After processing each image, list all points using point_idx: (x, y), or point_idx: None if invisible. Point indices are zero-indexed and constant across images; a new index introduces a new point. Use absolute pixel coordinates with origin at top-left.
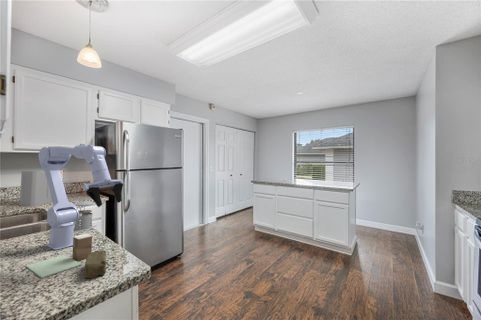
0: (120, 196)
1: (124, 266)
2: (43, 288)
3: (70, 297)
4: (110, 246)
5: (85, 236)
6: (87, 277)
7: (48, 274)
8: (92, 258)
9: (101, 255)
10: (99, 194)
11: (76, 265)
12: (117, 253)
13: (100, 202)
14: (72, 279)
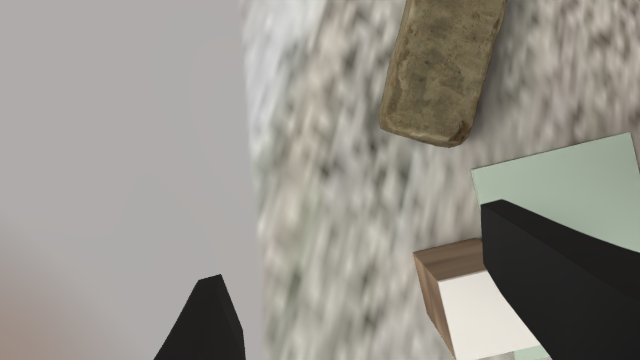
0: (192, 315)
1: (316, 14)
2: (628, 24)
3: None
4: (292, 350)
5: (477, 290)
6: None
7: (605, 144)
8: (468, 34)
9: (423, 42)
10: (596, 276)
11: (494, 168)
12: (293, 210)
13: (518, 211)
14: (528, 33)
